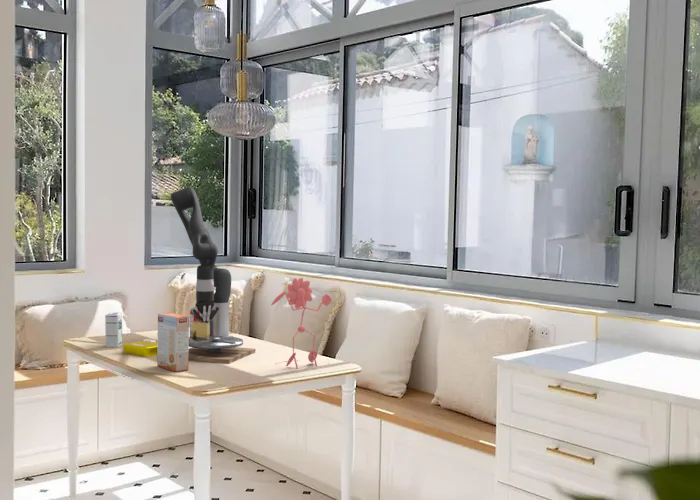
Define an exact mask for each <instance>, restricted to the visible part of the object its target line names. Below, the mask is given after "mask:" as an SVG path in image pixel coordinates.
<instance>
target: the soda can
mask: <svg viewBox="0 0 700 500" xmlns="http://www.w3.org/2000/svg"><path fill="white" fill-rule="evenodd" d="M194 307H195V306H192V307H191V309H193V308H194ZM191 309H190V311H189V339H190V338H192V321H199V322H201V320H198V319H197V318H196V317H195V316H194V314H193V313H192V312H191ZM197 310H198V309H197ZM198 314H199V315H200V312H199V311H198Z"/></svg>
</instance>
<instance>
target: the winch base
mask: <svg viewBox="0 0 700 500" xmlns="http://www.w3.org/2000/svg"><path fill="white" fill-rule="evenodd" d="M255 353H256V348H250V347H249V348H248V347H240V346H238V347H233V348H224V349H202V348H193V347H190V348H189V353H188V361H193V362H206V363H219V364H232V363H233V362H237V361H239V360H241V359H243V358H245V357H248V356H250V355H252V354H255ZM238 359H239V360H238ZM231 362H232V363H231Z"/></svg>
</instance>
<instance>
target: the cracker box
mask: <svg viewBox="0 0 700 500" xmlns="http://www.w3.org/2000/svg"><path fill="white" fill-rule="evenodd" d="M189 339H190V315H189V316H187V315H184V314H178V313H173V312H161V313H157V341H158V351H157V355H156V356H157V357H156V359H157V364H156V365H157V367H159V368H163V369H167V370H170V371H172V372H176V373H177V372H184V371H188V370H189V360H188V353H189V349H190V348H189Z"/></svg>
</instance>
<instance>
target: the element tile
mask: <svg viewBox="0 0 700 500" xmlns="http://www.w3.org/2000/svg"><path fill="white" fill-rule="evenodd" d="M122 345H123V346H122V348H123V349H122V350H123V352H122V353H123V354H125V355H132V356H137V357H144V358H151V357H154V356H155V357H156V356H157V351H158V340H154V339H152V338H151V339H150V338H147V339H142V340H136V341H131V342H130V341H129V342H125V343H123V344H122Z"/></svg>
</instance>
